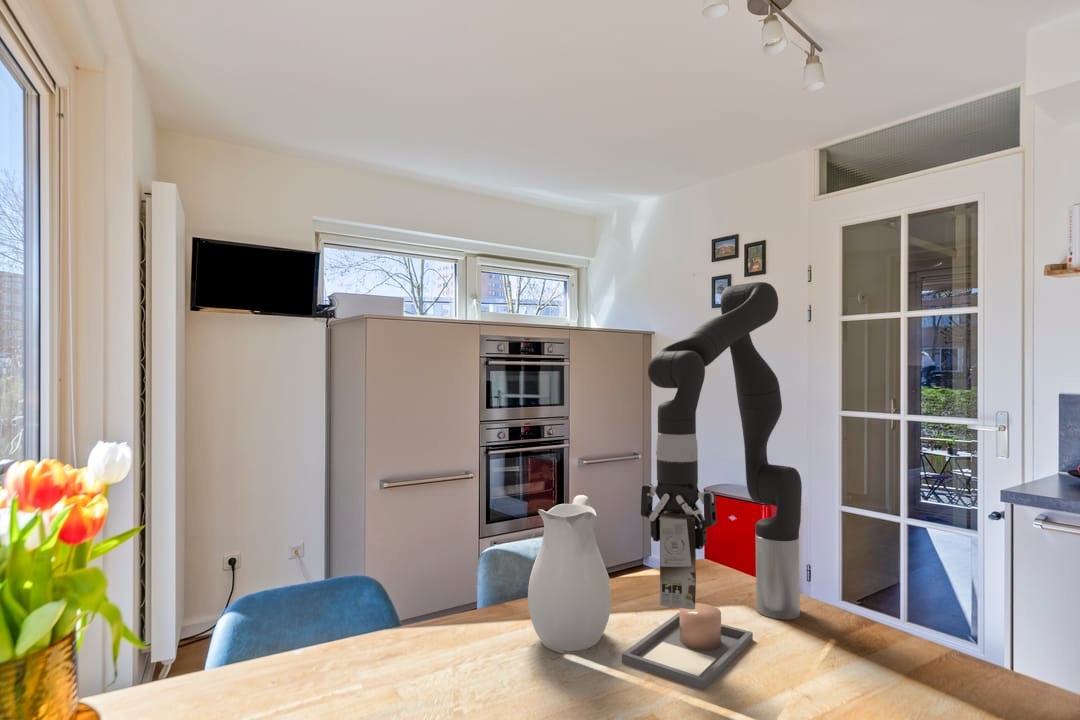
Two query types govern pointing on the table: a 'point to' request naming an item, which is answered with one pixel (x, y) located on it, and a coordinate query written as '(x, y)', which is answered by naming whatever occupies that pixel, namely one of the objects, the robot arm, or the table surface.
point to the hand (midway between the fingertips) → (677, 544)
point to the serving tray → (685, 654)
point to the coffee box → (677, 560)
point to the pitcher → (569, 580)
